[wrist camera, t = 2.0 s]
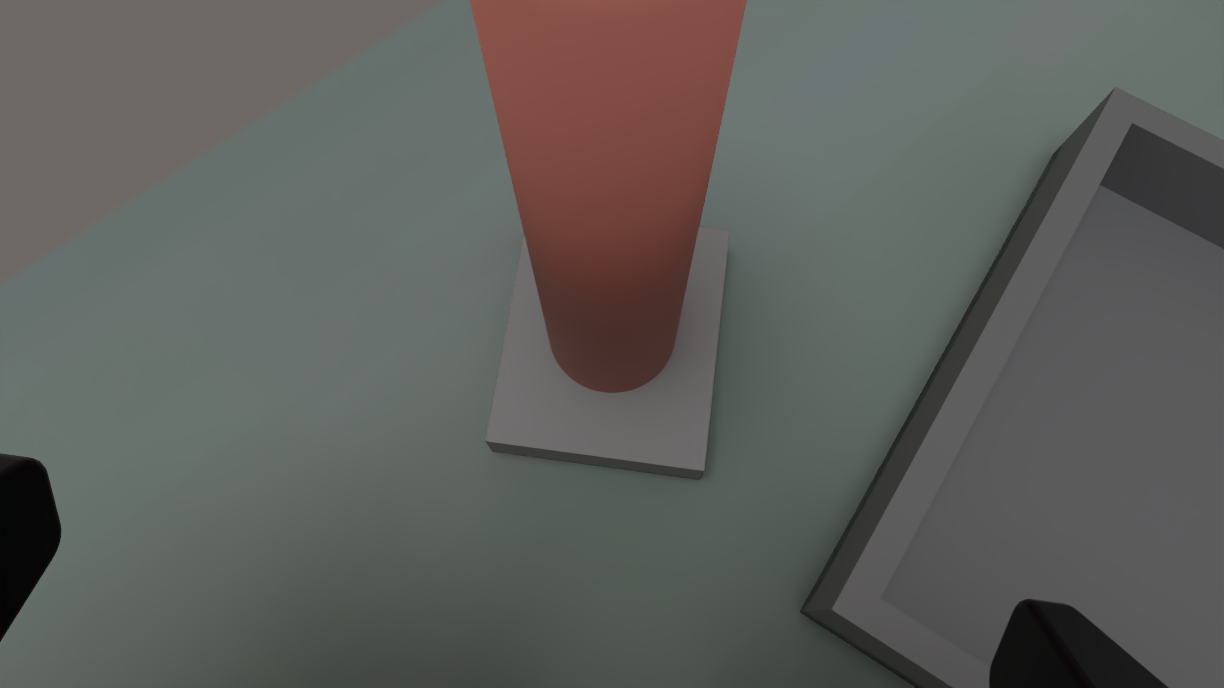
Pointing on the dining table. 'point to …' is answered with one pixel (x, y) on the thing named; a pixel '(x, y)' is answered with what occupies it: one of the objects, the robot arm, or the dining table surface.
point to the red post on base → (610, 225)
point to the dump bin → (1064, 429)
